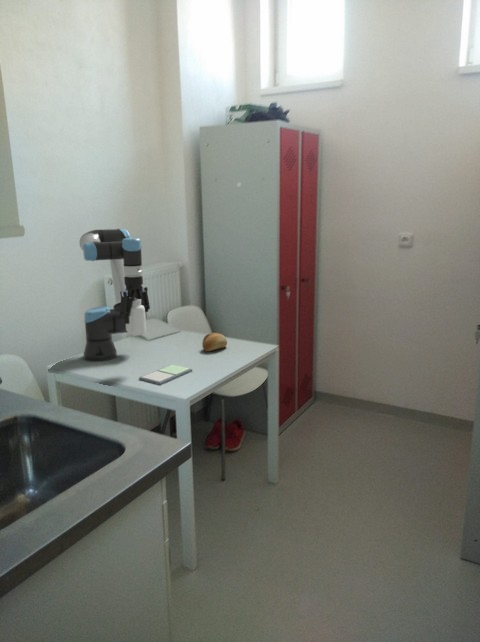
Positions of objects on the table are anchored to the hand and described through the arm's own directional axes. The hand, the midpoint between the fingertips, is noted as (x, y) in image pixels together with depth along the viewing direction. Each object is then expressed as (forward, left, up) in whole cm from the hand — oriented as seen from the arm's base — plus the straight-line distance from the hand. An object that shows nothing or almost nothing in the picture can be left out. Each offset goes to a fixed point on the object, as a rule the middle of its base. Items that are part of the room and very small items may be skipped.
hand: (136, 328), depth 216 cm
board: (+15, +1, -18) cm, 24 cm away
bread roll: (+9, +43, -19) cm, 48 cm away
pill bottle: (0, 0, -3) cm, 3 cm away
